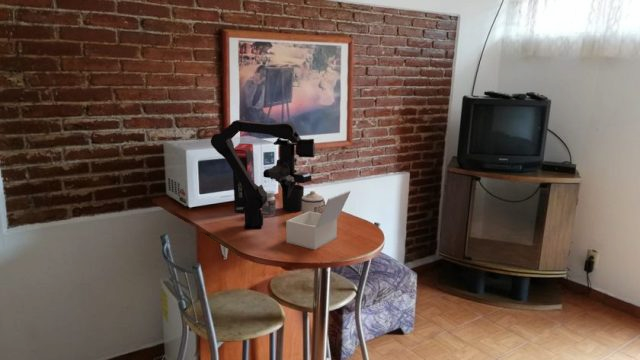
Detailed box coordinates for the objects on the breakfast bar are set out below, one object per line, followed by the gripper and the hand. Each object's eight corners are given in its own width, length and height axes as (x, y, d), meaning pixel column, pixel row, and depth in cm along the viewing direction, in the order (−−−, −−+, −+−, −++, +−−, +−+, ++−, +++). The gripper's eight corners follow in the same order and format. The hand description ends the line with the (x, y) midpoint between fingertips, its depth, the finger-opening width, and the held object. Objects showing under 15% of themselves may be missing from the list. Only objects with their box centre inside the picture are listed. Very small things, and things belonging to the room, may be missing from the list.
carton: (286, 242, 168) (286, 220, 166) (309, 231, 179) (309, 211, 177) (315, 249, 161) (315, 227, 159) (336, 238, 173) (337, 216, 171)
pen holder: (305, 212, 204) (305, 189, 202) (283, 213, 202) (283, 190, 200) (301, 206, 213) (301, 184, 211) (280, 207, 211) (280, 185, 209)
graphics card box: (249, 213, 201) (248, 149, 195) (233, 213, 201) (231, 149, 195) (255, 202, 218) (254, 143, 212) (240, 202, 218) (238, 143, 212)
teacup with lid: (313, 224, 188) (313, 195, 186) (296, 219, 194) (296, 191, 191) (332, 217, 197) (333, 189, 194) (316, 213, 203) (316, 186, 200)
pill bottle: (272, 217, 196) (272, 194, 194) (259, 216, 197) (259, 193, 195) (277, 213, 201) (277, 190, 199) (264, 212, 203) (264, 189, 201)
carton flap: (328, 198, 155) (329, 199, 154) (349, 190, 166) (350, 191, 165) (315, 226, 160) (316, 227, 159) (336, 216, 171) (338, 217, 170)
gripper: (253, 157, 176) (254, 198, 179) (294, 162, 165) (294, 206, 169) (272, 153, 185) (272, 192, 188) (312, 158, 175) (312, 199, 178)
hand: (287, 197), depth 181 cm, fingers closed
